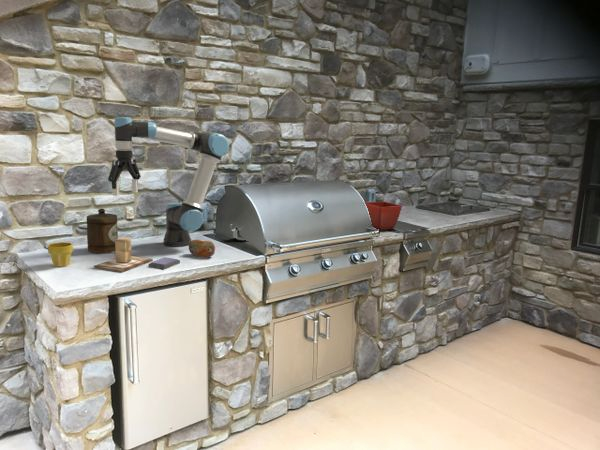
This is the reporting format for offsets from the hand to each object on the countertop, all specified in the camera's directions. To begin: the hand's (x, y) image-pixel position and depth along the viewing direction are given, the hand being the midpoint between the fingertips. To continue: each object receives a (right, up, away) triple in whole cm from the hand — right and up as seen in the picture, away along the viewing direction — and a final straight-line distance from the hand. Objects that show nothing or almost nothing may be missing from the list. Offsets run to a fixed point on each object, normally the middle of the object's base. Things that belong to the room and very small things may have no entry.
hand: (125, 194), depth 238 cm
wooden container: (-18, -28, +18) cm, 38 cm away
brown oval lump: (+35, -31, +13) cm, 48 cm away
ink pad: (+20, -34, -5) cm, 40 cm away
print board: (+2, -34, -6) cm, 34 cm away
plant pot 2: (+141, -17, +99) cm, 173 cm away
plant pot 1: (-26, -34, -11) cm, 44 cm away
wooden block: (+2, -32, -6) cm, 33 cm away
